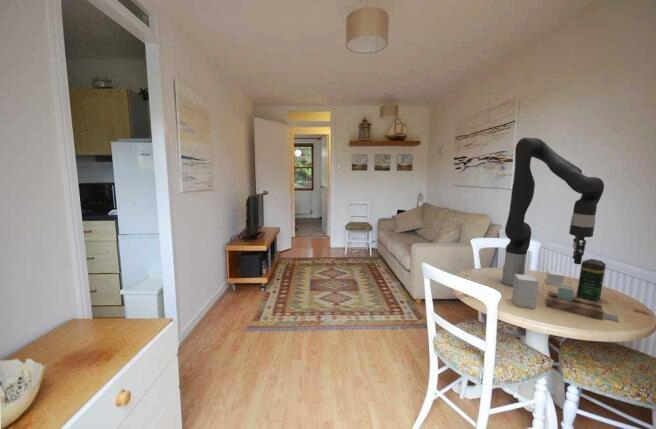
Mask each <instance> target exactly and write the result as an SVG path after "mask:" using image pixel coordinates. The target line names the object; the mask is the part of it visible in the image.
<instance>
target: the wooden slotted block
mask: <svg viewBox="0 0 656 429" xmlns="http://www.w3.org/2000/svg"><path fill="white" fill-rule="evenodd" d="M557 296H558V292H553V291H547V295H546V304H545V307H547V308H550V309H555V310H559V311H563V312H568V313H571V314H575V315H580V316H583V317H587V318H592V319H596V320H599V321H600V320H601V321H603V320H604V318H603V314H604V313H605V312H604V308H603V305H602V302H598V301H596V302H594V301H590V300H585V299H582V298H580V297H576V296H575V297H574V296H573V299H572V301H567V300H563V299H558V298H557Z"/></svg>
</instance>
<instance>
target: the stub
mask: <svg viewBox="0 0 656 429" xmlns="http://www.w3.org/2000/svg"><path fill="white" fill-rule="evenodd" d="M574 291H575V287H574V286H572V285H571V286H570V285H568V284H567V285H566V284H563V285H562V284H559V286H558V290H557V294H558V296H557V298H558V299H563V300H567V301H572V299H573V297H574Z"/></svg>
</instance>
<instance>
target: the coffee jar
mask: <svg viewBox="0 0 656 429" xmlns="http://www.w3.org/2000/svg"><path fill="white" fill-rule="evenodd" d="M580 265H581V266H580V273H579V279H578V286H577V291H576V296H577V298H580V299H585V300H590V301H594V302H598V301H599V300H600V299H601V295H602V288H603V282H604V279H605V277H604V276H605V271H606V266H607V264H606V263H605V262H604V261H602V260H599V259H593V258H590V259H585V260H583V261H581V264H580Z"/></svg>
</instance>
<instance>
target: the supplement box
mask: <svg viewBox="0 0 656 429" xmlns="http://www.w3.org/2000/svg"><path fill="white" fill-rule="evenodd" d="M538 289H539V280H538V279H537V278H535V276H534V275H529V274H524V275H521V274H514V284H513V286H512V295H511V299H512V301H513V303H514V305H515V306H516V307H521V308H529V309H536V308H537V306H536V305H537V300H538V291H539V290H538Z"/></svg>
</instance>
